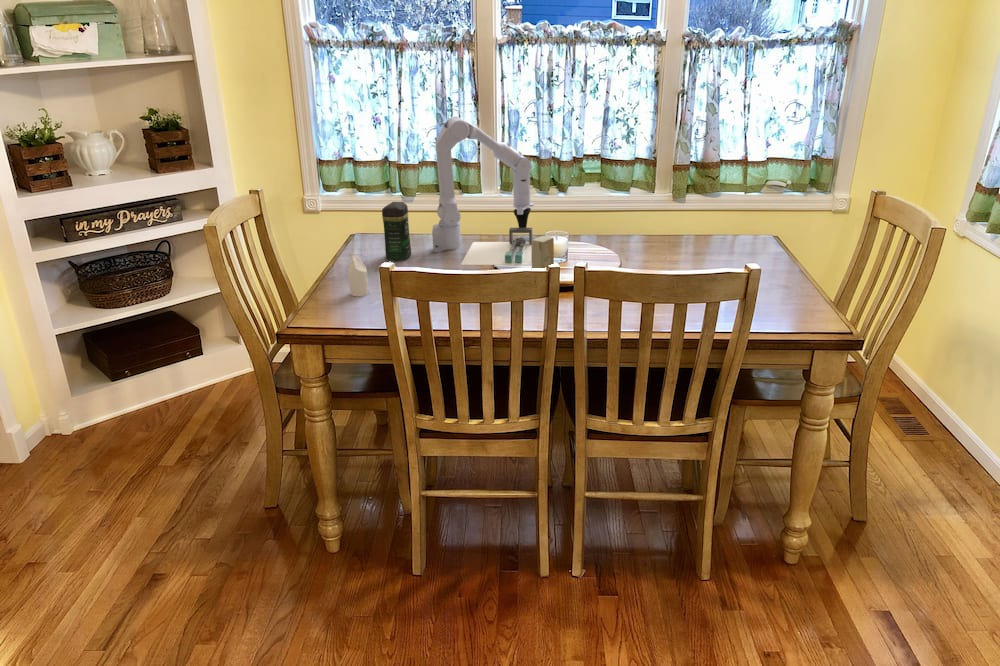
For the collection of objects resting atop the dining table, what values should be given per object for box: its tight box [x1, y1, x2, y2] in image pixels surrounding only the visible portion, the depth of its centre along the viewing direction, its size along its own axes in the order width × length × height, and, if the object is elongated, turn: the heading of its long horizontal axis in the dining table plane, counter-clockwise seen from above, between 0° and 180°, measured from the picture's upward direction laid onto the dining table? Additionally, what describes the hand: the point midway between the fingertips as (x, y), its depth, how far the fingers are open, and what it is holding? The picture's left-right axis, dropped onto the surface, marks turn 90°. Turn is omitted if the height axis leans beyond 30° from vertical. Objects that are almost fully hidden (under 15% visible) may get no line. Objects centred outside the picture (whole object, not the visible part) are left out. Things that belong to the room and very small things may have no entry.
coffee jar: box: [381, 201, 412, 262], centre depth 262 cm, size 10×8×19 cm
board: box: [460, 241, 532, 266], centre depth 263 cm, size 22×25×1 cm
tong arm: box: [505, 240, 517, 262], centre depth 259 cm, size 16×2×2 cm, turn 171°
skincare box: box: [531, 235, 555, 269], centre depth 240 cm, size 6×4×12 cm
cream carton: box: [347, 254, 370, 297], centre depth 233 cm, size 6×12×6 cm
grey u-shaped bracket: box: [508, 227, 533, 244], centre depth 270 cm, size 3×8×5 cm, turn 83°
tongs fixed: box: [515, 237, 527, 262], centre depth 261 cm, size 20×4×2 cm, turn 173°
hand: (522, 229), depth 276 cm, fingers closed
